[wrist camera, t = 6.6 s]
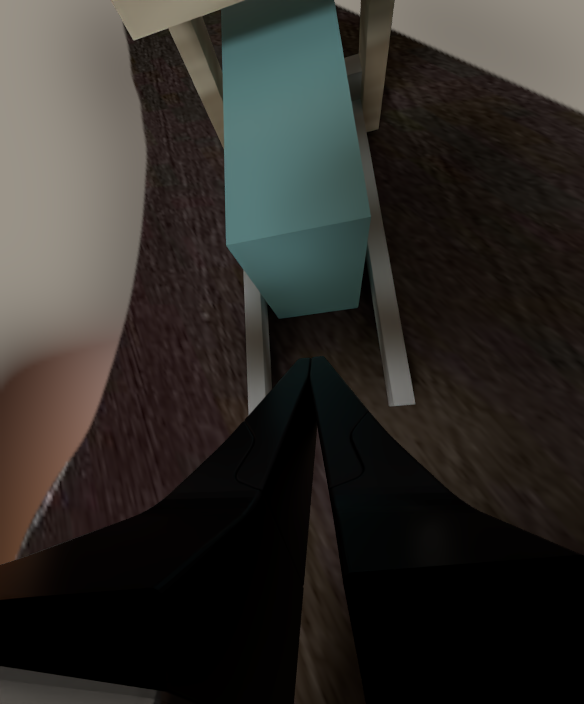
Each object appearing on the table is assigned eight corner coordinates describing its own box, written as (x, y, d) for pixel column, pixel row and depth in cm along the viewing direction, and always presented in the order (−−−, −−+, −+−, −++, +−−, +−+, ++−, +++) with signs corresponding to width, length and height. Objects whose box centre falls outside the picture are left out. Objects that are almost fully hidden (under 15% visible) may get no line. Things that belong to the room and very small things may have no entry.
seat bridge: (431, 402, 14) (695, 383, 4) (238, 417, 16) (32, 434, 5) (373, 102, 19) (410, -282, 8) (231, 140, 21) (115, -136, 10)
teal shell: (357, 308, 16) (370, 216, 8) (279, 319, 17) (226, 245, 9) (332, 131, 19) (325, -51, 12) (267, 148, 20) (220, -12, 12)
